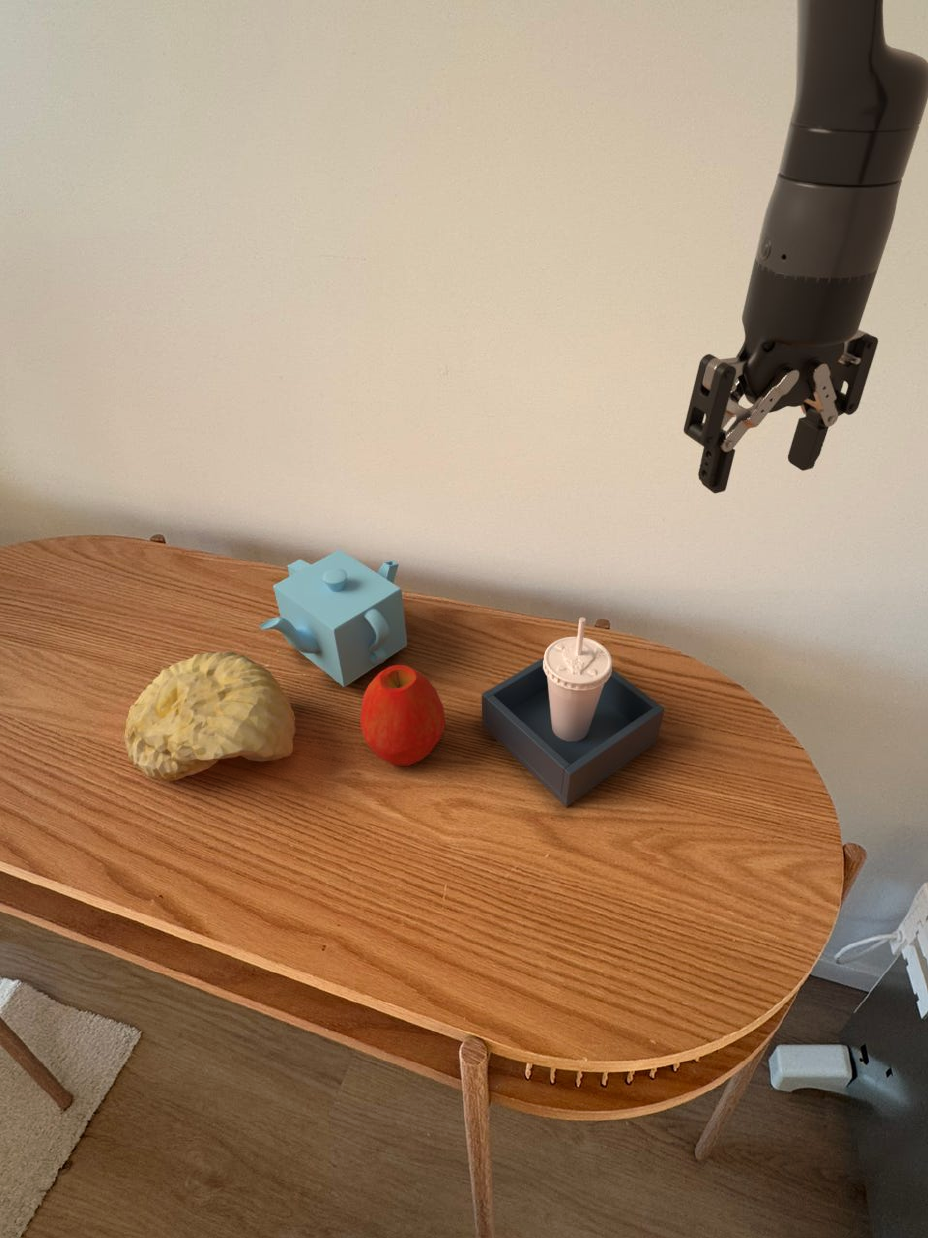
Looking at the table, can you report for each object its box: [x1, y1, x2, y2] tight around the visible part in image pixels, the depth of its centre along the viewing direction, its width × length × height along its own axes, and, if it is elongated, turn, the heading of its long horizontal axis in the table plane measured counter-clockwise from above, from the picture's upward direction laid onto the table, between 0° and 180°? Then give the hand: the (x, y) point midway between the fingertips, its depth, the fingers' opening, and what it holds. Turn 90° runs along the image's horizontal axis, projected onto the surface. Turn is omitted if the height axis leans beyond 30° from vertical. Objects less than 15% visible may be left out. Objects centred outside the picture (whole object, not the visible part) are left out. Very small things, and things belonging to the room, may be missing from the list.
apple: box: [359, 664, 446, 767], centre depth 70 cm, size 8×8×11 cm
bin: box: [481, 657, 666, 808], centre depth 73 cm, size 13×13×5 cm
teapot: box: [259, 549, 408, 688], centre depth 81 cm, size 16×18×11 cm
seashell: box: [123, 651, 296, 782], centre depth 71 cm, size 17×11×15 cm
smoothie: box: [543, 617, 613, 742], centre depth 69 cm, size 6×6×14 cm
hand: (756, 476), depth 58 cm, fingers open, 8 cm apart
